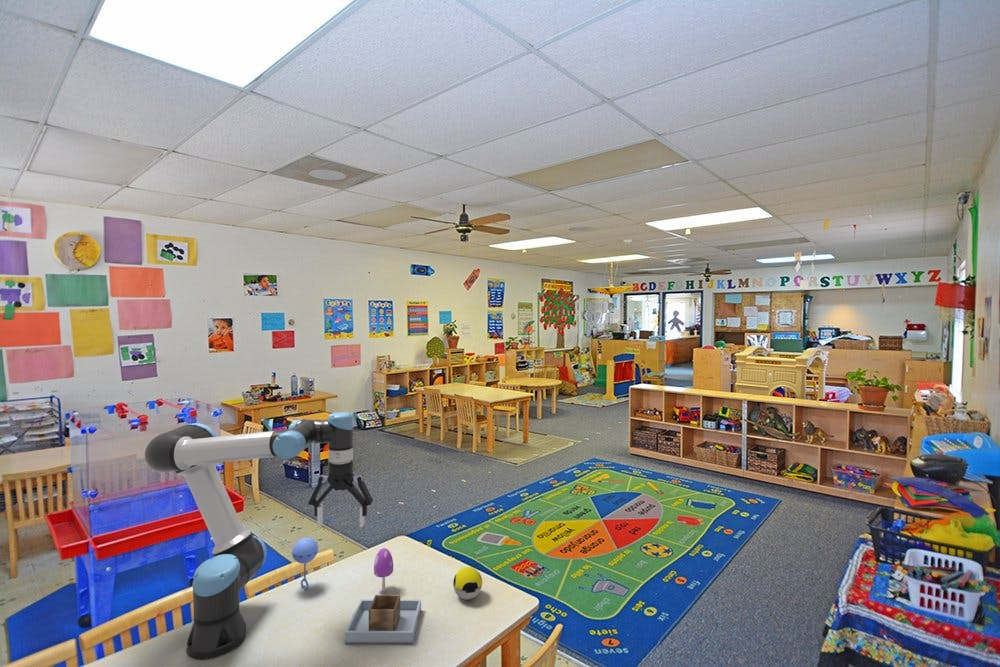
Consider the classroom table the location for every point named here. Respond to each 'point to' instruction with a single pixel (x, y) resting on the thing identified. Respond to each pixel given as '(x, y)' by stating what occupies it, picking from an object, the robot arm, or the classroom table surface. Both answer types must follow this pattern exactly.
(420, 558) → the classroom table surface
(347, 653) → the classroom table surface
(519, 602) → the classroom table surface
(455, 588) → the toy
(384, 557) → the toy
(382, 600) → the small crate
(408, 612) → the big tray
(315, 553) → the baby rattle
